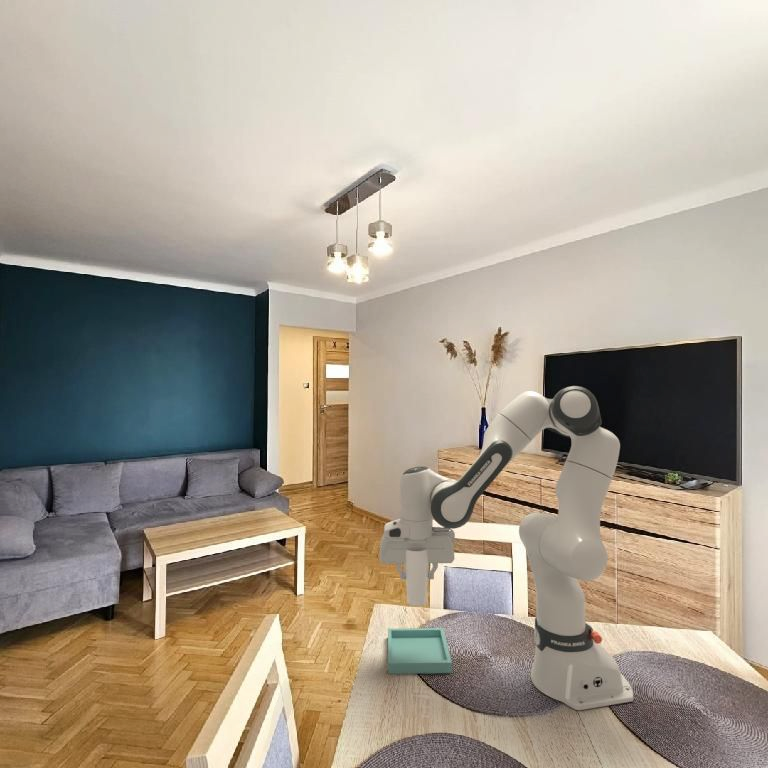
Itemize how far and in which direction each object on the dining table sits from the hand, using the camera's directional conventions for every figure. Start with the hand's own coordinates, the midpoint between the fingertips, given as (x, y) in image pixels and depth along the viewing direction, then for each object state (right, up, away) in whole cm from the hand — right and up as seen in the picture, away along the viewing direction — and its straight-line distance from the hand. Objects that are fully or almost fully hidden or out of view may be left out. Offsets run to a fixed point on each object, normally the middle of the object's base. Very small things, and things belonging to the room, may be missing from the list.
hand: (416, 578), depth 118 cm
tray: (0, -20, 0) cm, 20 cm away
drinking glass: (0, -7, 0) cm, 7 cm away
